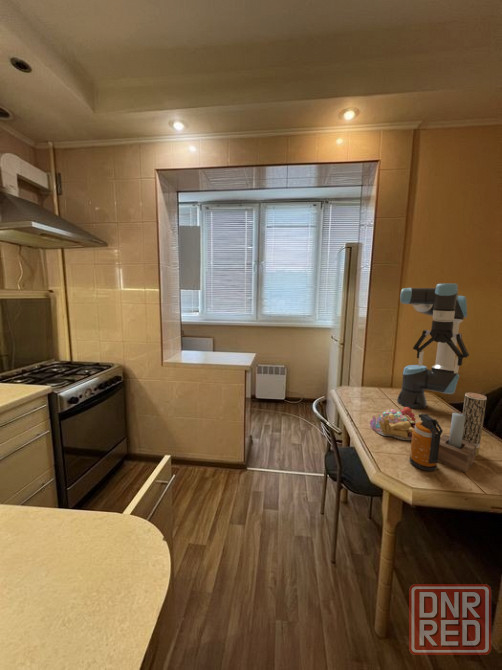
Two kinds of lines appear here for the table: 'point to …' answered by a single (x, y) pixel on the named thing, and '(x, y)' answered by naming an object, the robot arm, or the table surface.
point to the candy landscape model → (395, 423)
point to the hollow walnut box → (456, 454)
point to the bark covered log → (473, 418)
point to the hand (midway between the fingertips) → (437, 369)
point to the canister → (425, 443)
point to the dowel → (456, 430)
